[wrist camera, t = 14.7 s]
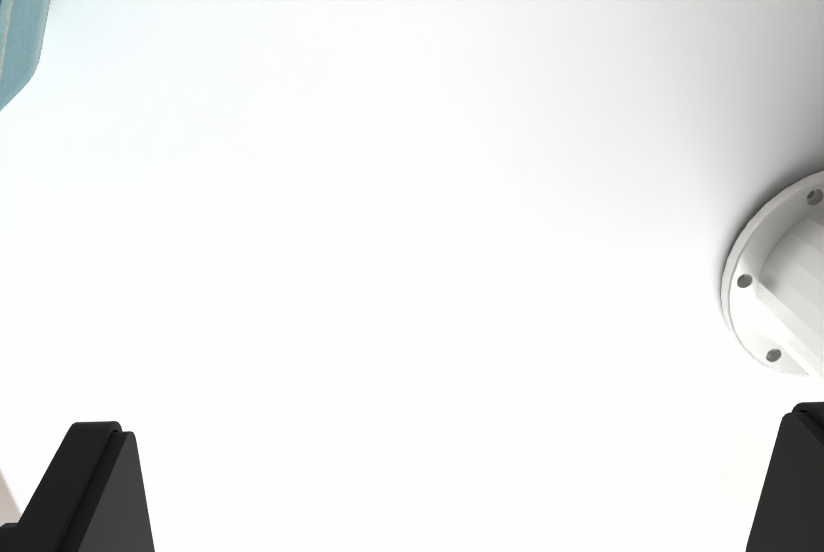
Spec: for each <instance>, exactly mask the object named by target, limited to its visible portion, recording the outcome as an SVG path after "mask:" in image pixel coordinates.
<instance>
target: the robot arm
mask: <svg viewBox="0 0 824 552" xmlns="http://www.w3.org/2000/svg"><path fill="white" fill-rule="evenodd" d="M721 302H722V308H723V315H724V318H725V320H726V323H727V325H728V327H729V330H730V332H731V333H732V335H733V336H734V337H735V339H736V340H737V341H738V343H739V344H740V345H741V346H742V347H743V348H744V349H745V350H746V351H747V352H748V353H749V354H750V355H751V356H752V357H753V358H754V359H755V360H757V361H758V362H760V363H761V364H763V365H764V366H766V367H768V368H771V369H774V370H777V371H779V372H782V373H786V374H793V375H799V376H811V377H812V378H813V379H814V380H815V381H816V382H817V383H818V384H819V385H820V386H821V387H822V388H823V389H824V170H823V171H820V172H817V173H815V174H812V175H809V176H807V177H805V178H803V179H801V180H800V181H798V182H796V183H794V184H792V185H791V186H789V187H787V188H785V189H784V190H783V191H781V192H780V193H779V194H778V195H776V196H775V197H774V198H772V199H771V200H770V201H769V202H767V203H766V204H765V205H764V206H763V207H762V208H761V209H760V210H759V211H758V212H757V213H756V215H755V216H754V217H753V218H752V219H751V220H750V221H749V222H748V224H747V225H746V227H745V228H744V230H743V231H742V232H741V234H740V235H739V237H738V238H737V240H736V242H735V244H734V246H733V248H732V250H731V253H730V255H729V257H728V259H727V262H726V266H725V270H724V274H723V277H722V288H721ZM0 552H155V550H154V544H153V538H152V532H151V526H150V520H149V514H148V508H147V502H146V496H145V490H144V484H143V478H142V472H141V467H140V461H139V455H138V449H137V443H136V438H135V435H134V433H133V432H131V431H128V432H122V428H121V426H120V424H119V423H118V422H116V421H107V422H76V423H74V424H72V426H71V427H70V428H69V430H68V432H67V434H66V435H65V437H64V439H63V441H62V443H61V445H60V447H59V448H58V450H57V452H56V454H55V456H54V458H53V459H52V461H51V463H50V465H49V467H48V469H47V470H46V472H45V474H44V476H43V478H42V480H41V481H40V483H39V485H38V487H37V489H36V491H35V492H34V494H33V496H32V498H31V500H30V502H29V503H28V505H27V507H26V509H25V511H24V513H23V514H22V516H21V518H20V520H19V522H18V523H5V524H4V525H2V526H1V527H0ZM746 552H824V402H802V403H799V404H797V405H796V406H795V407H794V408H793V410H792V412H791V413H787V414H785V416H784V417H783V418H782V421H781V424H780V427H779V431H778V435H777V438H776V442H775V445H774V449H773V453H772V456H771V460H770V464H769V467H768V471H767V474H766V478H765V482H764V485H763V489H762V492H761V496H760V500H759V503H758V507H757V510H756V514H755V518H754V521H753V525H752V528H751V532H750V536H749V539H748V543H747V546H746Z"/></svg>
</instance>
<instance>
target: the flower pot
mask: <svg viewBox="0 0 824 552" xmlns="http://www.w3.org/2000/svg"><path fill="white" fill-rule="evenodd" d="M49 4H50V0H0V111H1V110H2V109H3V108H4V107H5V106H6V105H7V104H8V103H9V102H10V101H11V100H12V99H13V98H14V97H15V96H16V95H17V94H18V93H19V92H20V91H21V90H22V89H23V88H24V86H25V85H26V84H27V83H28V82H29V81H30V79H31V78H32V76H33V75H34V73H35V70H36V68H37V65H38V62H39V59H40V54H41V49H42V44H43V37H44V32H45V26H46V21H47V15H48V9H49Z"/></svg>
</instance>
